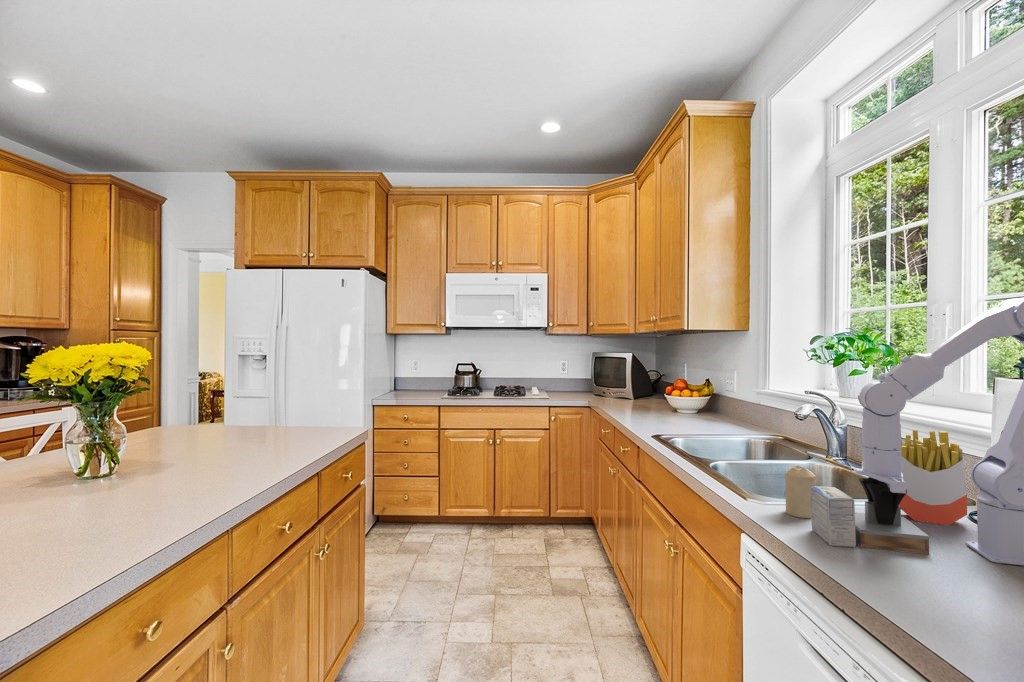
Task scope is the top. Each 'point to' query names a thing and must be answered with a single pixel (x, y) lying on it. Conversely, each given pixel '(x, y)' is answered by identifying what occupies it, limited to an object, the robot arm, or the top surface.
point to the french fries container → (933, 479)
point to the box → (892, 543)
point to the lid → (899, 528)
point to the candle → (799, 491)
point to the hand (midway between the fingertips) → (882, 521)
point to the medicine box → (833, 516)
